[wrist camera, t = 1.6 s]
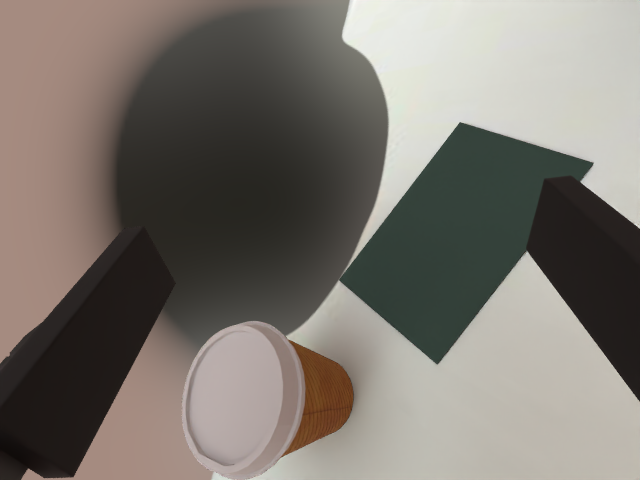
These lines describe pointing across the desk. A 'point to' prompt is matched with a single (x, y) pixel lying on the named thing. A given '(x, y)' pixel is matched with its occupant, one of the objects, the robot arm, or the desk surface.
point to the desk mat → (455, 235)
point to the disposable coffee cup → (259, 399)
